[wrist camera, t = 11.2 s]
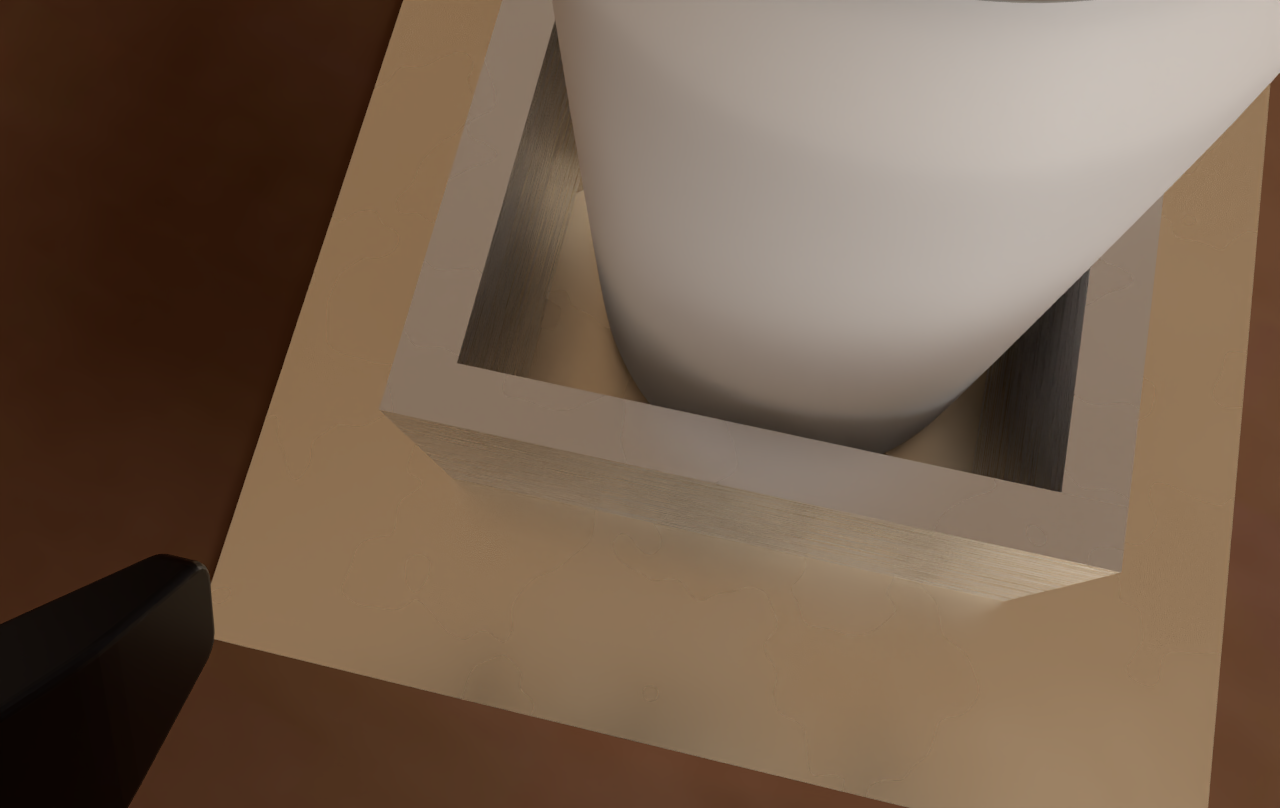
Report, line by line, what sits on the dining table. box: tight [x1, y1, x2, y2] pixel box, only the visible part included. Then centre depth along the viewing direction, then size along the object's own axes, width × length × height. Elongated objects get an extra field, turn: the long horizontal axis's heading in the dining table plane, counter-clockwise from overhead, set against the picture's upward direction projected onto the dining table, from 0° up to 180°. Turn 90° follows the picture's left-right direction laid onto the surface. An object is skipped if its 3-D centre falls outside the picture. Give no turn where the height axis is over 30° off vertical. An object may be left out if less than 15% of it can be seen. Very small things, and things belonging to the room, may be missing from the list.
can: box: [552, 0, 1280, 454], centre depth 12 cm, size 6×6×12 cm
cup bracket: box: [211, 0, 1270, 808], centre depth 13 cm, size 16×16×13 cm
